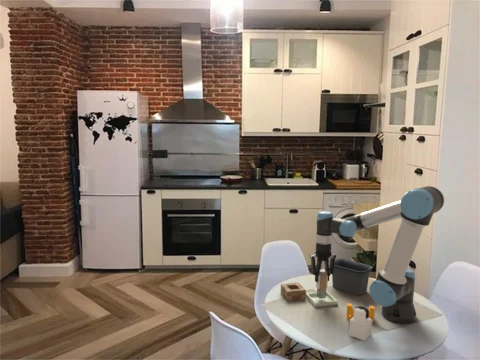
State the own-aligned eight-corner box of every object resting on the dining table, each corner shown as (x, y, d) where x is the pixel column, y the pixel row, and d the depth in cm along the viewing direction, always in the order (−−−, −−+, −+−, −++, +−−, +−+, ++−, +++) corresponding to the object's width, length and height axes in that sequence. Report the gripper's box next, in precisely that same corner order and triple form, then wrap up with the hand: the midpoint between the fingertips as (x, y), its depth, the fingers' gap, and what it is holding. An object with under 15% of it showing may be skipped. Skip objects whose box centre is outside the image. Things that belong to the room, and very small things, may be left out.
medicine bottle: (355, 329, 172) (356, 302, 171) (371, 334, 168) (373, 307, 166) (348, 335, 167) (349, 308, 165) (364, 341, 162) (366, 313, 161)
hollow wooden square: (305, 299, 202) (305, 290, 201) (287, 301, 199) (287, 291, 199) (298, 291, 211) (298, 282, 211) (280, 293, 209) (280, 284, 208)
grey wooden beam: (322, 295, 202) (324, 269, 200) (325, 298, 198) (327, 271, 197) (316, 296, 201) (317, 269, 199) (319, 298, 198) (320, 271, 196)
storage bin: (325, 287, 218) (326, 262, 216) (340, 280, 229) (342, 256, 227) (360, 299, 203) (361, 272, 201) (375, 291, 213) (376, 265, 212)
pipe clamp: (373, 317, 183) (373, 304, 182) (374, 322, 179) (374, 308, 178) (346, 314, 186) (347, 301, 185) (346, 319, 182) (347, 305, 181)
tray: (337, 305, 195) (337, 301, 195) (315, 307, 193) (315, 303, 192) (326, 295, 207) (327, 291, 207) (305, 297, 204) (305, 293, 204)
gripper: (335, 239, 201) (333, 283, 204) (305, 241, 198) (303, 285, 201) (342, 243, 194) (340, 289, 197) (311, 245, 190) (309, 291, 193)
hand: (321, 287), depth 199 cm, fingers closed on grey wooden beam, 3 cm apart
